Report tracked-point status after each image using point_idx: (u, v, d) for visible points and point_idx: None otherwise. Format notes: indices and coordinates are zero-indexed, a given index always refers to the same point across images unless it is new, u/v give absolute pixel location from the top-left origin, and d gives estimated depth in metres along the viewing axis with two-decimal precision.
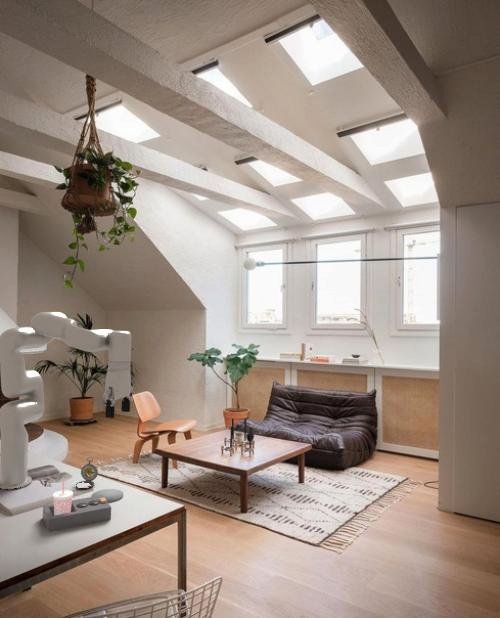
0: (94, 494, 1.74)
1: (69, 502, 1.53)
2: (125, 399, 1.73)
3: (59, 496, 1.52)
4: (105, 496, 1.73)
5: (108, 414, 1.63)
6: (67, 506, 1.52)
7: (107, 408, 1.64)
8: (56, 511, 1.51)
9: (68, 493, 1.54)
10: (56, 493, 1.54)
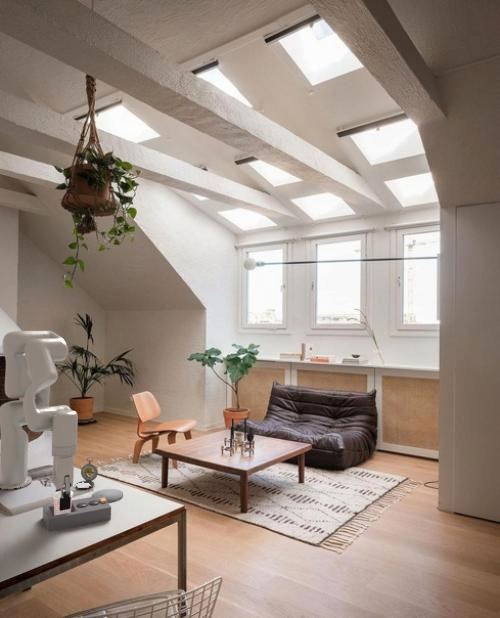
0: (94, 494, 1.74)
1: None
2: None
3: (59, 496, 1.52)
4: (105, 496, 1.73)
5: (65, 506, 1.50)
6: None
7: (64, 501, 1.50)
8: (56, 511, 1.51)
9: None
10: (56, 493, 1.54)
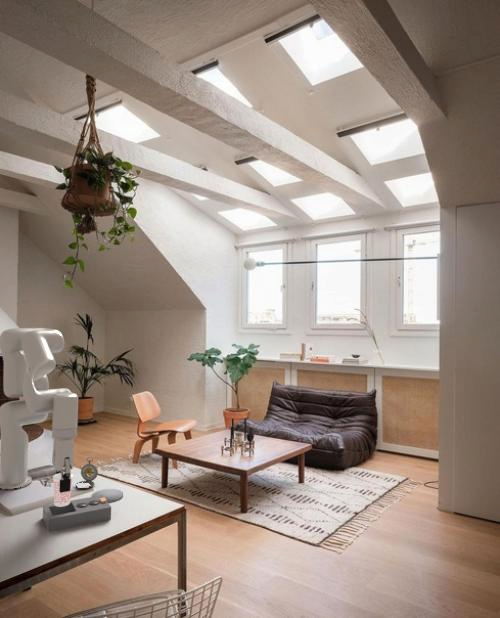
0: (94, 494, 1.74)
1: None
2: (60, 470, 1.57)
3: (59, 478, 1.52)
4: (105, 496, 1.73)
5: (65, 488, 1.50)
6: None
7: (64, 483, 1.50)
8: (56, 493, 1.52)
9: None
10: (56, 475, 1.54)
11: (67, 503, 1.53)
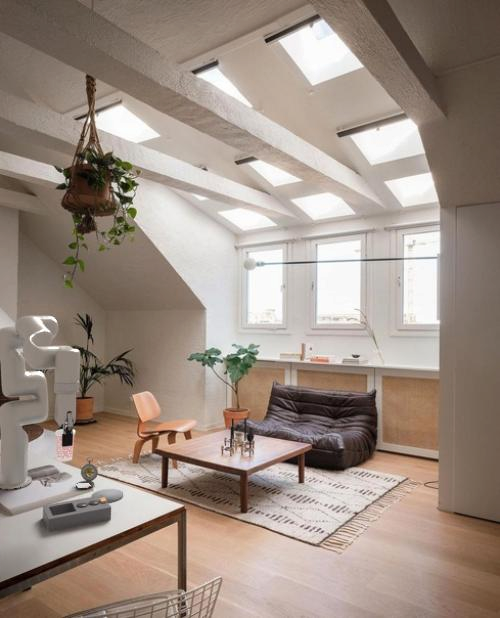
0: (94, 494, 1.74)
1: None
2: (63, 426, 1.56)
3: (61, 433, 1.52)
4: (105, 496, 1.73)
5: (68, 442, 1.50)
6: None
7: (67, 437, 1.50)
8: (58, 448, 1.52)
9: None
10: (58, 431, 1.54)
11: (69, 458, 1.53)
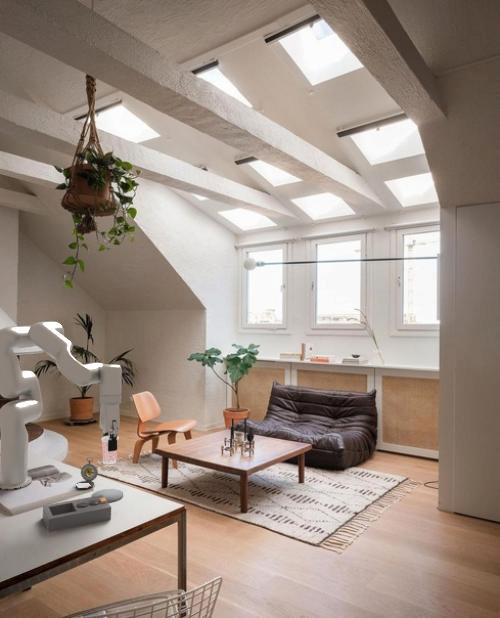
0: (94, 494, 1.74)
1: None
2: (107, 433, 1.77)
3: (107, 439, 1.72)
4: (105, 496, 1.73)
5: (113, 448, 1.70)
6: None
7: (112, 442, 1.70)
8: (105, 452, 1.72)
9: None
10: (104, 437, 1.74)
11: (114, 461, 1.73)
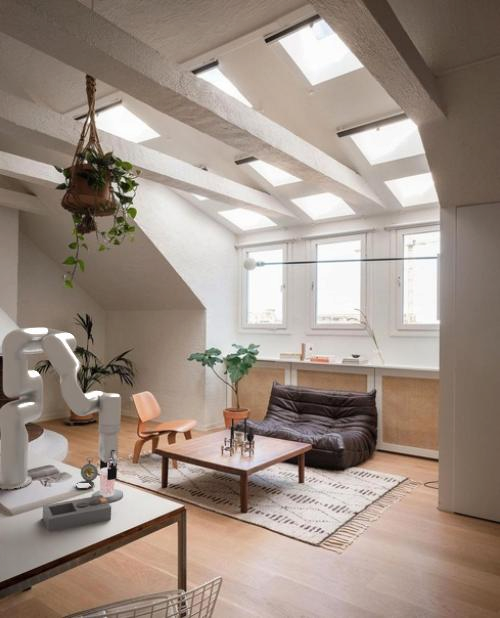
0: (94, 494, 1.74)
1: None
2: None
3: (105, 472, 1.72)
4: None
5: (113, 476, 1.69)
6: (112, 481, 1.73)
7: (112, 471, 1.69)
8: (102, 485, 1.72)
9: None
10: (101, 469, 1.75)
11: (112, 494, 1.73)
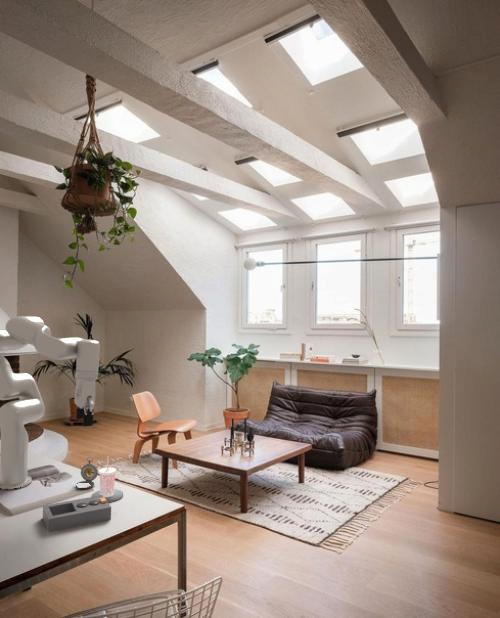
0: (94, 494, 1.74)
1: (113, 477, 1.73)
2: None
3: (104, 472, 1.72)
4: None
5: (88, 422, 1.67)
6: (112, 481, 1.73)
7: (88, 417, 1.66)
8: (102, 485, 1.72)
9: (112, 469, 1.75)
10: (101, 469, 1.75)
11: (111, 494, 1.73)
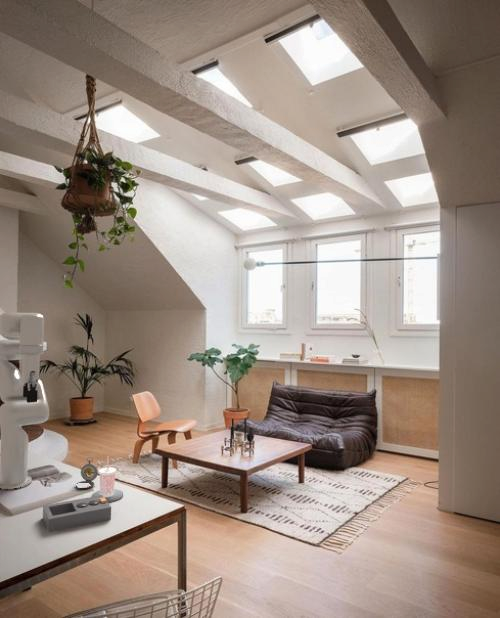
0: (94, 494, 1.74)
1: (113, 477, 1.73)
2: (28, 384, 1.69)
3: (104, 472, 1.72)
4: None
5: (32, 399, 1.60)
6: (112, 481, 1.73)
7: (31, 393, 1.60)
8: (102, 485, 1.72)
9: (112, 470, 1.75)
10: (101, 469, 1.75)
11: (111, 494, 1.73)
